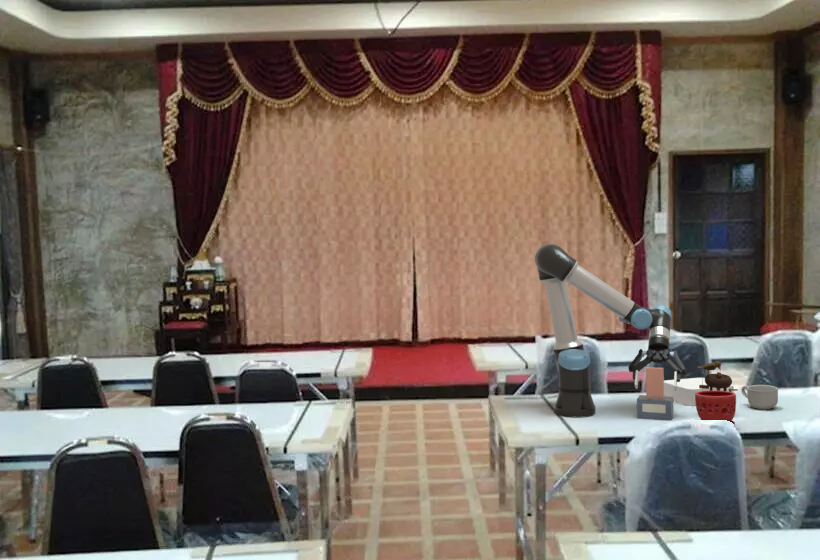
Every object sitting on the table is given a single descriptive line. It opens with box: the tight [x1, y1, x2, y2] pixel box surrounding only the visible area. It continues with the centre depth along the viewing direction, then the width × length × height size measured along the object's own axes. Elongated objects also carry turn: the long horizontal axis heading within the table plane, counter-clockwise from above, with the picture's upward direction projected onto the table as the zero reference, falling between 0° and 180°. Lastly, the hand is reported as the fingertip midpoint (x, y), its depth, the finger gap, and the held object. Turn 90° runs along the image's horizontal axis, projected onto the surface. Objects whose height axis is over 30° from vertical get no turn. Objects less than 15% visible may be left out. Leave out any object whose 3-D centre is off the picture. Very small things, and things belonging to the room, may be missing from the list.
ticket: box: [645, 366, 665, 398], centre depth 285 cm, size 6×2×16 cm, turn 66°
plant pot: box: [695, 391, 737, 426], centre depth 268 cm, size 13×13×12 cm
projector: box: [664, 377, 735, 407], centre depth 314 cm, size 21×22×7 cm
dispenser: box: [636, 394, 675, 421], centre depth 285 cm, size 12×8×7 cm
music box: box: [696, 360, 739, 407], centre depth 287 cm, size 15×11×20 cm
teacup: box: [740, 384, 779, 410], centre depth 297 cm, size 14×11×8 cm
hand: (655, 387), depth 284 cm, fingers open, 13 cm apart
